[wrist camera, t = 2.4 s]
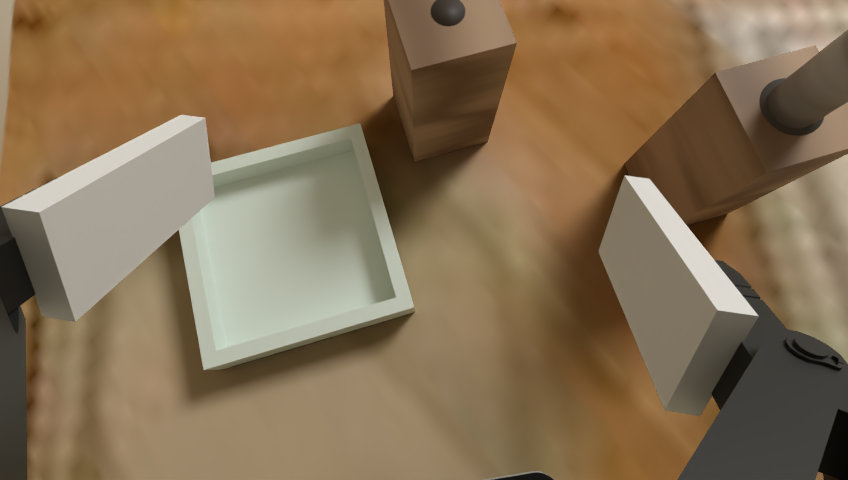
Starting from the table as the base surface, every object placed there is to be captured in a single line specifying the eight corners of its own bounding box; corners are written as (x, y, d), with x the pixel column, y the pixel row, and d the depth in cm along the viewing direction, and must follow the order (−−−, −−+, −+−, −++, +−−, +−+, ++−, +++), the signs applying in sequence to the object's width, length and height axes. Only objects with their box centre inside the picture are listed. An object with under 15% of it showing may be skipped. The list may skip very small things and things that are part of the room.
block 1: (464, 77, 33) (482, -44, 23) (487, 141, 32) (517, 42, 22) (393, 95, 32) (381, -20, 23) (414, 161, 31) (411, 69, 22)
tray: (364, 141, 32) (360, 123, 29) (414, 312, 29) (414, 307, 26) (188, 188, 31) (168, 173, 28) (221, 369, 28) (203, 370, 26)
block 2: (694, 143, 32) (1029, -130, 14) (728, 213, 30) (1138, 8, 13) (624, 163, 31) (879, -92, 14) (655, 235, 30) (977, 53, 13)
